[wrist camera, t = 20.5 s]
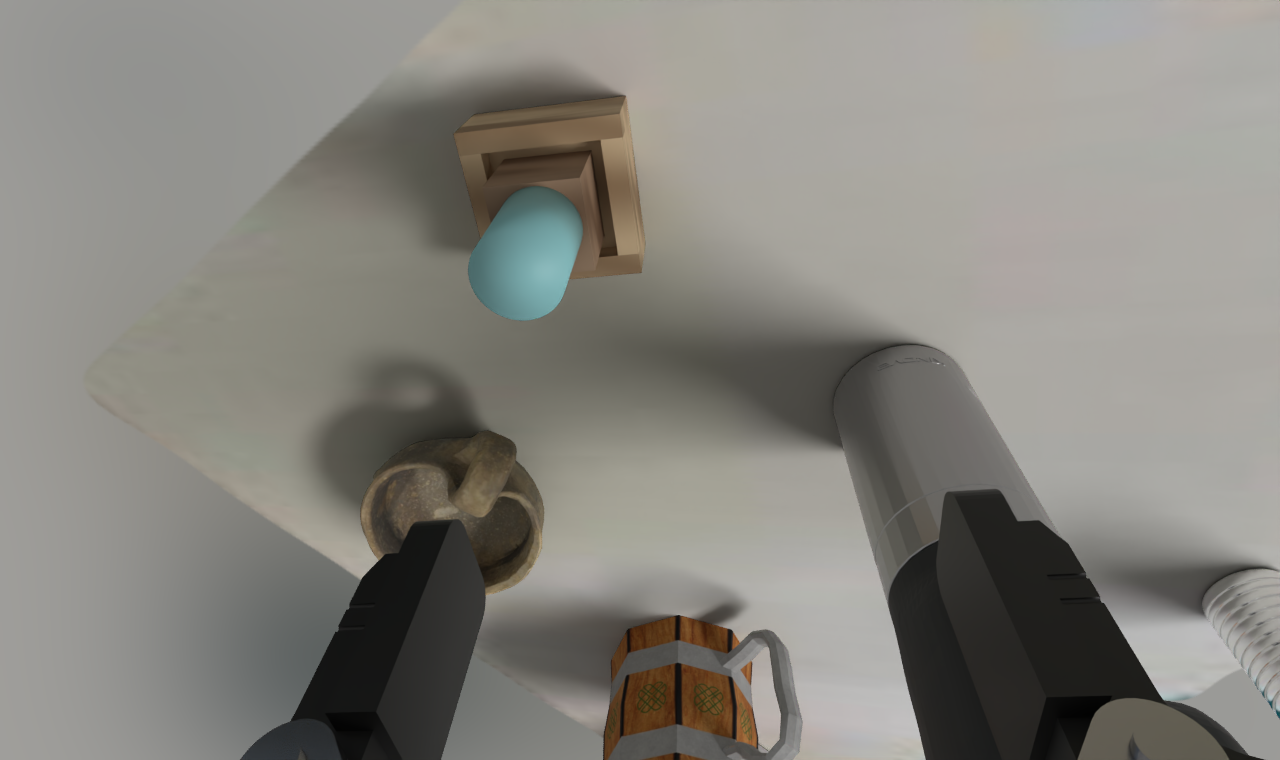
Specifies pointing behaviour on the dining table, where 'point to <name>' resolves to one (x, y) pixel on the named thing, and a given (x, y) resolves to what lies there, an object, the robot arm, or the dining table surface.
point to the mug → (694, 694)
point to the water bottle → (1250, 625)
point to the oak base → (565, 132)
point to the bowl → (460, 502)
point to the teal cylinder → (527, 254)
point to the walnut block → (563, 175)
